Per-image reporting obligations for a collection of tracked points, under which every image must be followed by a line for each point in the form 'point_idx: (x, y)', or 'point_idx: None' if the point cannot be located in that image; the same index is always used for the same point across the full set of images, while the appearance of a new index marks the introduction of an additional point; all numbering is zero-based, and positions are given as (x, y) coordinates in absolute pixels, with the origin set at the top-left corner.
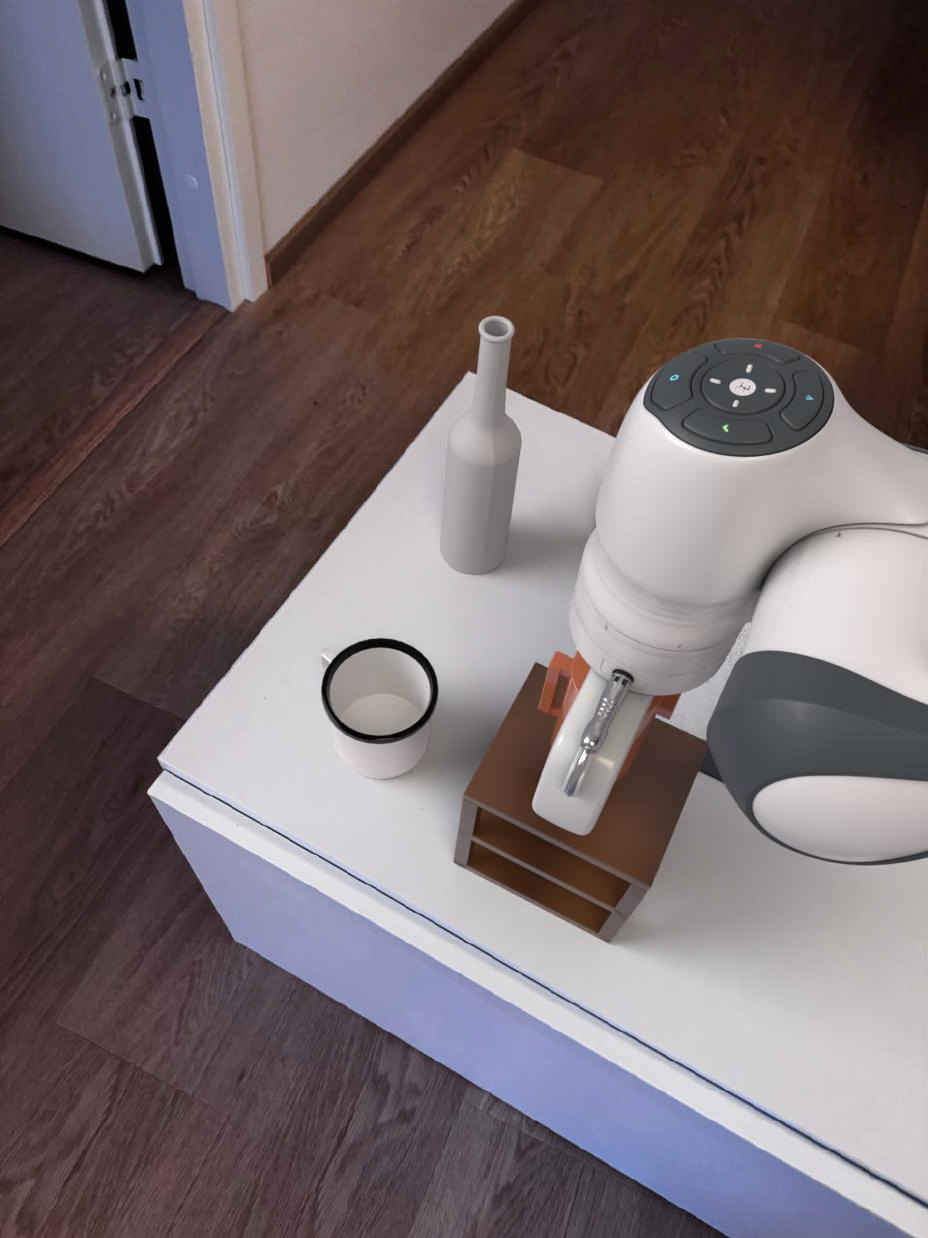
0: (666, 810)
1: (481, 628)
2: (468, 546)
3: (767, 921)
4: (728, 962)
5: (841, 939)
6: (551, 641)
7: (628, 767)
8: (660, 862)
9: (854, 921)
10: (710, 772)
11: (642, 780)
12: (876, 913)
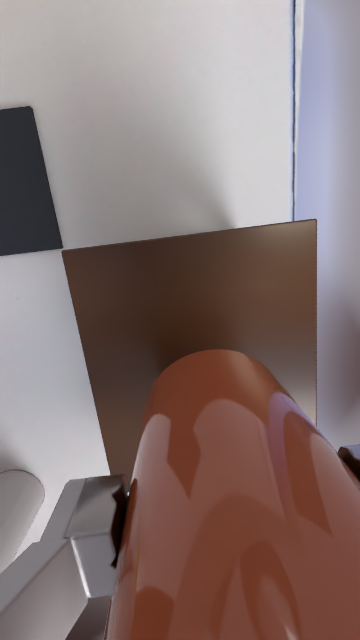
0: (200, 255)
1: (74, 449)
2: (22, 517)
3: (146, 123)
4: (198, 139)
5: (118, 47)
6: (45, 404)
7: (240, 363)
8: (276, 224)
9: (95, 42)
10: (56, 234)
11: (178, 306)
12: (73, 23)
